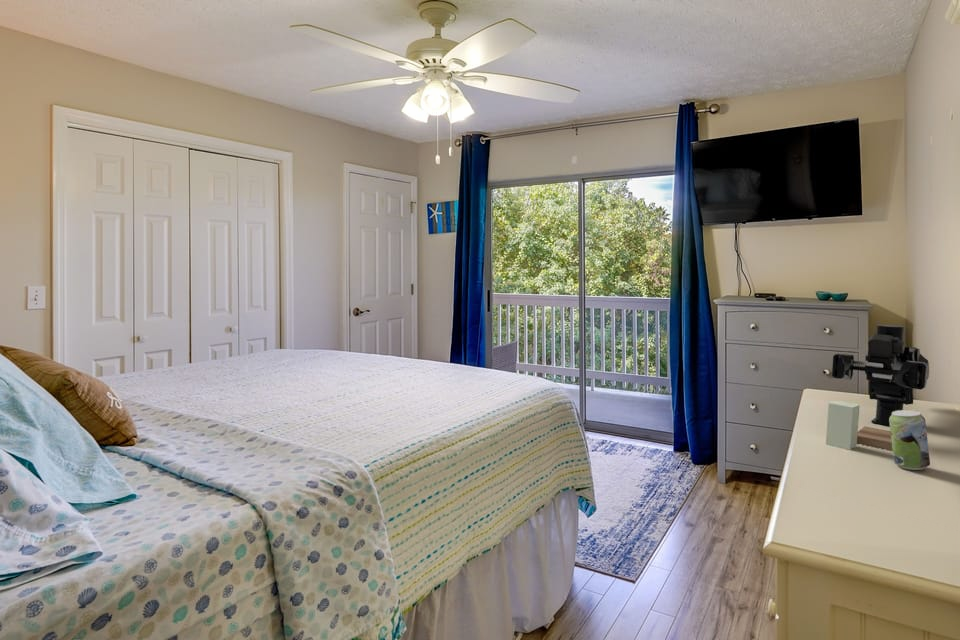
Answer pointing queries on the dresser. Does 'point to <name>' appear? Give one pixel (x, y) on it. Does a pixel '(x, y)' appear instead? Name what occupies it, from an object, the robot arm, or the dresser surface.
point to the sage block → (842, 424)
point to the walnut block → (875, 438)
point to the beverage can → (909, 439)
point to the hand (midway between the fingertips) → (868, 375)
